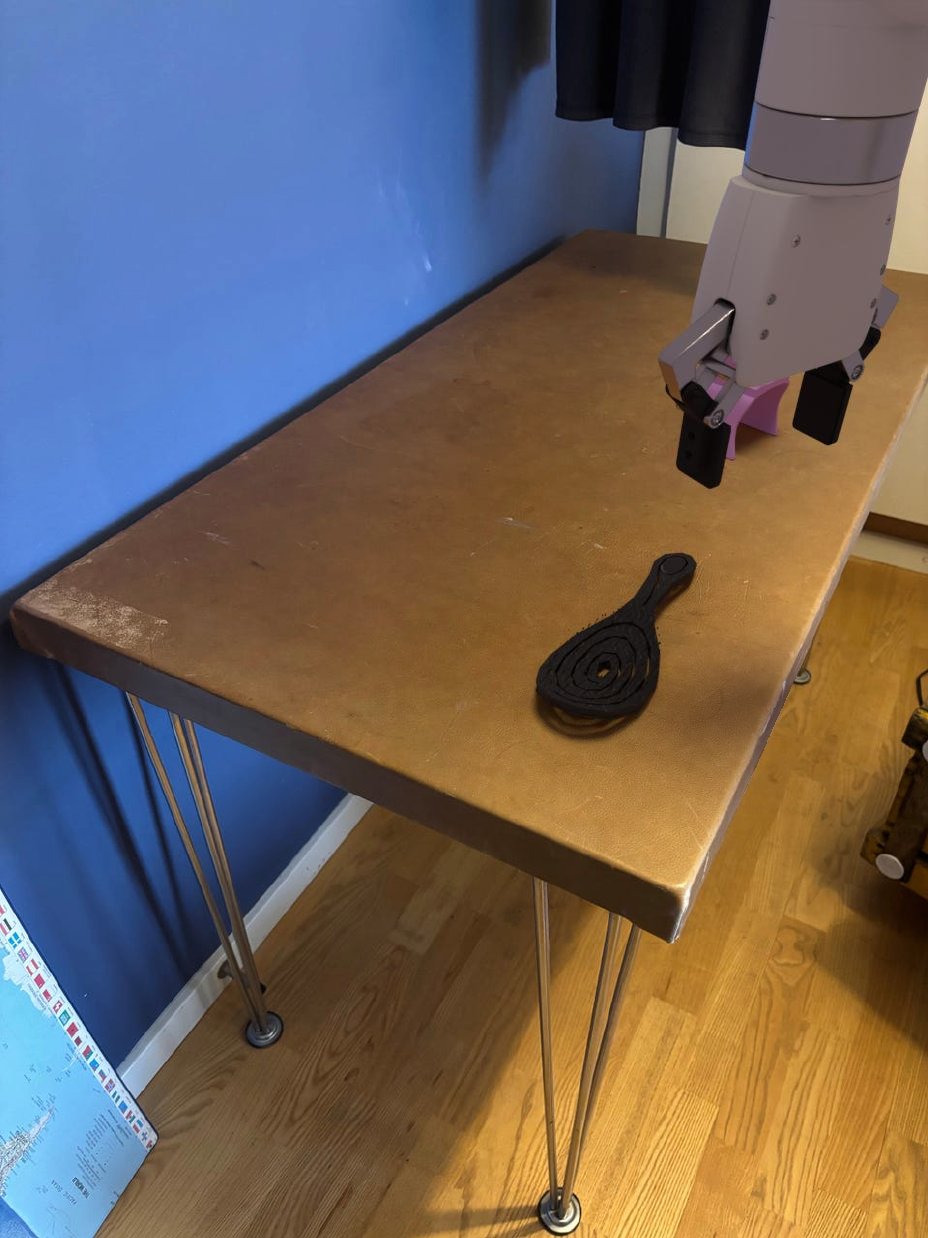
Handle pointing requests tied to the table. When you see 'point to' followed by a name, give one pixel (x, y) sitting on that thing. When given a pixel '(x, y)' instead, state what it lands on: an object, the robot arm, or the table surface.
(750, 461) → the table surface
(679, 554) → the hairbrush
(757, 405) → the chair
